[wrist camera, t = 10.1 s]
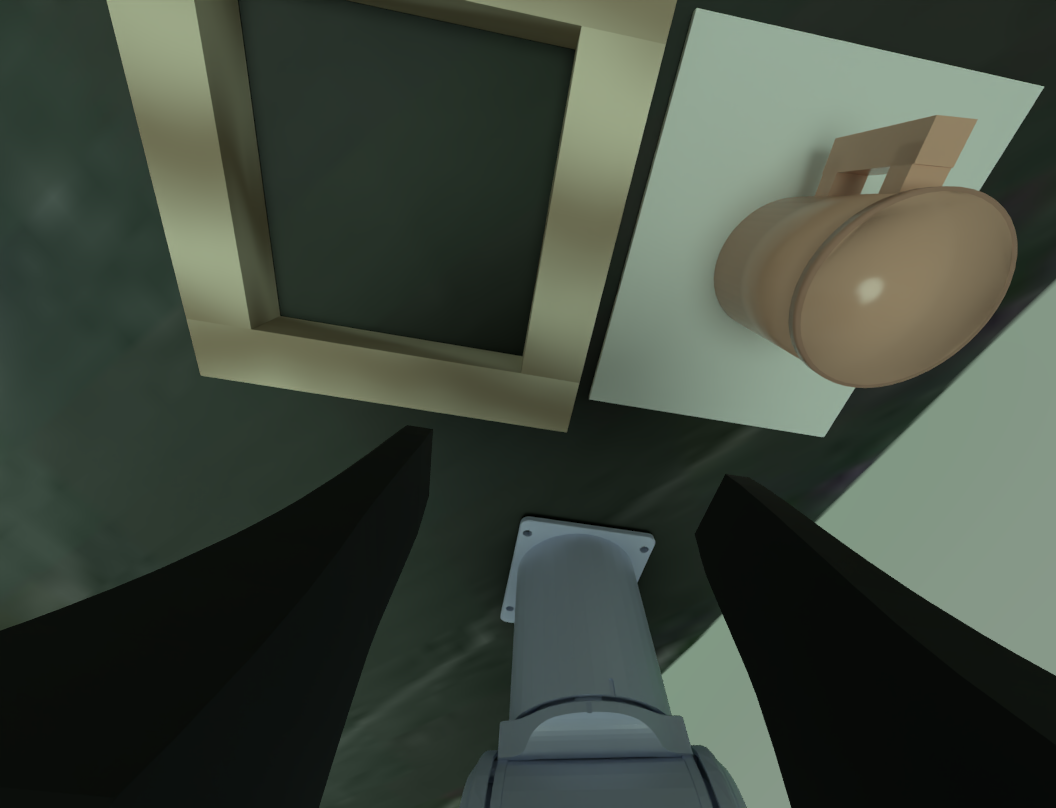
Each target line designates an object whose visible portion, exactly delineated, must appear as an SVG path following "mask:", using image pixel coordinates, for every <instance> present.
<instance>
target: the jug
mask: <svg viewBox="0 0 1056 808" xmlns="http://www.w3.org/2000/svg"><path fill="white" fill-rule="evenodd" d="M977 120H978V119H971V118H961V117H952V116H943V115H934V116H930V117H926V118H921V119H917V120H913V121H908V122H904V123H900V124H895V125H891V126H887V127H882V128H878V129H874V130H870V131H865V132H861V133H857V134H852V135H848V136H844V137H839V138H835V141H834V143H833V146H832V149H831V151H830V154H829V157H828V159H827V162H826V165H825V167H824V170H823V173H822V174H823V175H822V178H821V180H820V183H819V186H818V188H817V191H816V194H815V196H802V197H789V198H783V199H779V200H776V201H773V202H770V203H768V204H766V205H764V206H762V207H760V208H758V209H757V210H755V211H754V212H752V213H751V214H750V215H748V216H747V217H746V218H745V219H744V220H742V221H741V222H740V223H739V225H738V226H737V227H736V228H735V229H734V230H733V231H732V233H731V234H730V235H729V237H728V238H727V240H726V241H725V243H724V245H723V247H722V249H721V251H720V253H719V256H718V259H717V262H716V266H715V272H714V288H715V294H716V297H717V300H718V302H719V304H720V306H721V308H722V309H723V310H724V312H725V313H726V314H727V315H728V316H729V317H730V318H732V319H733V320H735V321H736V322H738V323H739V324H741V325H743V326H745V327H746V328H748V329H750V330H751V331H753V332H755V333H756V334H758V335H760V336H761V337H763V338H765V339H767V340H768V341H770V342H772V343H773V344H775V345H777V346H778V347H780V348H782V349H783V350H785V351H787V352H788V353H790V354H792V355H794V356H795V357H797V358H799V359H800V360H801V361H802V362H803V363H804V364H805V365H806V366H807V367H808V368H810V369H811V370H812V371H814V372H815V373H817V374H818V375H820V376H822V377H823V378H825V379H827V380H829V381H831V382H833V383H837V384H840V385H843V386H849V387H855V388H872V387H881V386H887V385H892V384H895V383H899V382H902V381H905V380H908V379H911V378H913V377H916V376H918V375H920V374H922V373H924V372H926V371H928V370H931V369H932V368H934V367H936V366H937V365H939V364H941V363H942V362H944V361H945V360H947V359H948V358H950V357H951V356H952V355H954V354H955V353H956V352H958V351H959V350H960V349H961V348H962V347H964V346H965V345H966V344H967V343H968V342H969V341H970V340H971V339H972V338H973V337H974V336H975V335H976V334H977V333H978V332H979V331H980V330H981V329H982V328H983V327H984V325H985V324H986V323H987V322H988V321H989V319H990V318H991V317H992V315H993V314H994V312H995V311H996V310H997V308H998V306H999V305H1000V303H1001V301H1002V299H1003V298H1004V296H1005V294H1006V292H1007V289H1008V287H1009V285H1010V283H1011V280H1012V276H1013V273H1014V270H1015V265H1016V259H1017V237H1016V231H1015V228H1014V225H1013V223H1012V220H1011V218H1010V216H1009V215H1008V213H1007V212H1006V210H1005V209H1004V208H1003V207H1002V206H1001V205H1000V204H999V203H998V202H997V201H996V200H995V199H993V198H992V197H990V196H988V195H987V194H985V193H982V192H980V191H977V190H975V189H970V188H965V187H957V186H942V185H943V183H944V182H945V180H946V178H947V176H948V174H949V172H950V170H951V168H953V167H954V165H955V163H956V161H957V159H958V157H959V155H960V153H961V151H962V150H963V148H964V146H965V144H966V142H967V140H968V138H969V136H970V134H971V132H972V130H973V128H974V126H975V124H976V122H977ZM882 174H887V175H886V177H885V179H884V182H883V184H882V186H881V188H880V191H879V193H878V194H861V191H862V189H863V187H864V184H865V182H866V180H867V177H868V176H871V175H882Z"/></svg>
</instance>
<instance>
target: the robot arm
mask: <svg viewBox="0 0 1056 808" xmlns="http://www.w3.org/2000/svg"><path fill="white" fill-rule="evenodd" d="M432 435H433V429H428V428H421V427H415V426H408V425H407V426H405V427H404V428H402V429H401V430H400V431H398V432H397V433H395V434H394V435H393V436H391V437H390V438H389V439H387V440H386V441H385V442H383V443H382V444H381V445H379V446H378V447H377V448H375V449H374V450H373V451H371V452H370V453H369V454H367V455H366V456H364V457H363V458H362V459H360V460H359V461H357V462H356V463H354V464H353V465H352V466H350V467H349V468H347V469H346V470H344V471H343V472H342V473H340V474H339V475H337V476H336V477H334V478H333V479H331V480H330V481H328V482H326V483H325V484H323V485H322V486H320V487H318V488H317V489H315V490H314V491H312V492H311V493H309V494H307V495H306V496H304V497H303V498H301V499H299V500H298V501H296V502H294V503H293V504H291V505H289V506H287V507H286V508H284V509H282V510H280V511H278V512H277V513H275V514H273V515H271V516H269V517H267V518H265V519H263V520H262V521H260V522H258V523H256V524H254V525H252V526H250V527H248V528H246V529H244V530H242V531H240V532H238V533H236V534H234V535H232V536H230V537H228V538H226V539H224V540H222V541H219V542H217V543H215V544H213V545H211V546H209V547H206V548H204V549H202V550H200V551H198V552H196V553H193V554H191V555H189V556H187V557H185V558H183V559H180V560H178V561H176V562H174V563H172V564H170V565H167V566H165V567H163V568H161V569H158V570H156V571H154V572H151V573H149V574H146V575H144V576H142V577H139V578H137V579H134V580H132V581H129V582H127V583H125V584H122V585H120V586H117V587H115V588H113V589H110V590H107V591H105V592H102V593H100V594H97V595H95V596H92V597H90V598H87V599H84V600H82V601H79V602H77V603H74V604H72V605H69V606H66V607H64V608H61V609H59V610H56V611H53V612H51V613H48V614H45V615H43V616H40V617H37V618H35V619H32V620H29V621H26V622H24V623H21V624H18V625H15V626H12V627H9V628H7V629H4V630H1V631H0V808H319V805H320V802H321V799H322V795H323V792H324V789H325V786H326V782H327V779H328V776H329V772H330V769H331V766H332V763H333V760H334V756H335V753H336V750H337V747H338V744H339V741H340V738H341V734H342V731H343V728H344V725H345V722H346V719H347V715H348V712H349V709H350V706H351V703H352V700H353V697H354V694H355V691H356V688H357V685H358V682H359V679H360V676H361V673H362V669H363V666H364V663H365V660H366V657H367V654H368V651H369V648H370V646H371V643H372V641H373V638H374V635H375V633H376V630H377V628H378V625H379V623H380V620H381V618H382V616H383V613H384V611H385V609H386V606H387V604H388V602H389V599H390V597H391V595H392V593H393V590H394V588H395V586H396V583H397V581H398V579H399V576H400V574H401V572H402V569H403V567H404V565H405V562H406V560H407V558H408V555H409V553H410V550H411V548H412V546H413V543H414V541H415V539H416V536H417V534H418V530H419V527H420V524H421V521H422V517H423V514H424V510H425V507H426V503H427V500H428V497H429V483H430V467H431V451H432ZM525 530H529V532H526V531H525ZM695 536H696V540H697V544H698V548H699V552H700V556H701V559H702V563H703V566H704V570H705V573H706V575H707V578H708V580H709V583H710V585H711V588H712V590H713V593H714V595H715V597H716V600H717V602H718V605H719V607H720V609H721V612H722V614H723V616H724V619H725V621H726V623H727V625H728V628H729V630H730V632H731V635H732V637H733V639H734V641H735V644H736V646H737V648H738V651H739V653H740V656H741V658H742V660H743V663H744V665H745V667H746V670H747V672H748V674H749V677H750V680H751V682H752V685H753V688H754V690H755V693H756V695H757V698H758V701H759V705H760V708H761V710H762V714H763V717H764V720H765V723H766V726H767V729H768V732H769V735H770V738H771V741H772V744H773V747H774V751H775V754H776V757H777V761H778V764H779V767H780V771H781V774H782V778H783V781H784V784H785V788H786V791H787V794H788V798H789V801H790V805H791V808H1056V676H1055V675H1053V674H1051V673H1050V672H1048V671H1046V670H1044V669H1042V668H1040V667H1039V666H1037V665H1035V664H1033V663H1032V662H1030V661H1028V660H1026V659H1024V658H1022V657H1021V656H1019V655H1017V654H1015V653H1013V652H1012V651H1010V650H1008V649H1007V648H1005V647H1003V646H1001V645H1000V644H998V643H996V642H995V641H993V640H991V639H989V638H987V637H986V636H984V635H982V634H981V633H979V632H978V631H976V630H974V629H973V628H971V627H969V626H968V625H966V624H964V623H963V622H961V621H960V620H958V619H956V618H955V617H953V616H951V615H950V614H948V613H947V612H945V611H943V610H942V609H940V608H938V607H937V606H935V605H934V604H932V603H930V602H929V601H927V600H925V599H924V598H922V597H921V596H919V595H917V594H916V593H915V592H913V591H911V590H910V589H909V588H907V587H905V586H904V585H903V584H901V583H900V582H898V581H897V580H895V579H894V578H892V577H891V576H889V575H888V574H886V573H885V572H883V571H882V570H880V569H879V568H877V567H876V566H874V565H873V564H871V563H870V562H868V561H867V560H866V559H864V558H863V557H861V556H860V555H859V554H857V553H856V552H854V551H853V550H852V549H850V548H849V547H847V546H846V545H844V544H843V543H842V542H840V541H839V540H838V539H836V538H835V537H833V536H832V535H831V534H829V533H828V532H827V531H825V530H824V529H822V528H821V527H820V526H818V525H817V524H816V523H814V522H813V521H812V520H810V519H809V518H807V517H806V516H805V515H803V514H802V513H801V512H799V511H798V510H796V509H795V508H794V507H792V506H791V505H790V504H788V503H787V502H785V501H784V500H783V499H781V498H780V497H778V496H777V495H775V494H774V493H773V492H771V491H770V490H768V489H767V488H765V487H764V486H762V485H761V484H759V483H757V482H756V481H754V480H752V479H751V478H748V477H741V476H735V475H728V474H725V476H724V478H723V480H722V482H721V484H720V486H719V488H718V490H717V492H716V494H715V496H714V498H713V499H712V501H711V503H710V505H709V507H708V509H707V511H706V513H705V515H704V517H703V519H702V521H701V523H700V525H699V527H698V529H697V531H696V533H695ZM654 545H655V540H654V537H653V535H651V534H649V533H643V532H636V531H629V530H622V529H615V528H608V527H601V526H594V525H587V524H580V523H573V522H566V521H559V520H552V519H545V518H538V517H531V516H527V517H524V518H523V519H521V521H520V526H519V531H518V535H517V540H516V544H515V549H514V554H513V558H512V563H511V568H510V572H509V577H508V582H507V586H506V591H505V595H504V600H503V605H502V609H501V619H502V620H503V621H505V622H510V623H514V639H513V658H512V676H511V694H510V713H509V721H502V722H501V723H500V731H499V745H498V750H488V751H486V752H484V753H483V754H482V756H481V757H480V759H479V761H478V763H477V765H476V766H475V767H474V769H473V770H472V771H471V773H470V775H469V776H468V779H467V781H466V784H465V787H464V791H463V794H462V798H461V803H460V808H747V807H746V805H745V802H744V800H743V798H742V796H741V793H740V791H739V789H738V788H737V785H736V783H735V782H734V780H733V778H732V777H731V775H730V774H729V772H728V771H727V770H726V768H725V767H724V766H722V764H721V763H719V761H717V759H716V758H715V757H714V755H713V754H712V753H711V752H710V751H709V750H708V749H707V748H706V747H704V746H701V745H693V746H692V745H690V742H689V738H688V734H687V731H686V727H685V724H684V720H683V717H681V716H672V715H671V711H670V707H669V703H668V699H667V695H666V692H665V688H664V684H663V680H662V676H661V672H660V668H659V665H658V661H657V657H656V653H655V649H654V645H653V641H652V638H651V634H650V630H649V626H648V622H647V618H646V615H645V611H644V607H643V603H642V599H641V595H640V591H639V588H638V584H637V583H638V580H639V578H640V576H641V574H642V572H643V569H644V567H645V565H646V563H647V561H648V558H649V556H650V554H651V552H652V550H653V547H654ZM641 547H643V548H641Z"/></svg>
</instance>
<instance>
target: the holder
mask: <svg viewBox="0 0 1056 808" xmlns="http://www.w3.org/2000/svg"><path fill="white" fill-rule="evenodd" d="M348 1H352V2H357V3H362V4H366V5H371V6H375V7H380V8H385V9H389V10H394V11H399V12H403V13H408V14H413V15H417V16H422V17H426V18H431V19H436V20H440V21H445V22H450V23H454V24H459V25H464V26H468V27H473V28H477V29H482V30H487V31H491V32H496V33H501V34H505V35H510V36H515V37H519V38H524V39H528V40H533V41H538V42H542V43H547V44H552V45H556V46H561V47H566V48H570V49H575V56H574V62H573V67H572V73H571V79H570V85H569V91H568V96H567V102H566V108H565V114H564V120H563V125H562V131H561V137H560V143H559V149H558V154H557V160H556V166H555V172H554V177H553V183H552V189H551V195H550V201H549V206H548V212H547V218H546V224H545V230H544V235H543V241H542V247H541V253H540V259H539V264H538V270H537V276H536V282H535V288H534V293H533V299H532V305H531V311H530V317H529V322H528V328H527V334H526V340H525V346H524V351H523V356H518V355H512V354H506V353H500V352H494V351H488V350H482V349H476V348H470V347H464V346H458V345H452V344H446V343H440V342H434V341H428V340H422V339H416V338H410V337H404V336H397V335H391V334H385V333H379V332H373V331H367V330H361V329H355V328H349V327H343V326H337V325H331V324H325V323H319V322H313V321H307V320H301V319H295V318H289V317H283V316H280V310H279V303H278V296H277V288H276V281H275V273H274V266H273V258H272V251H271V244H270V236H269V229H268V221H267V214H266V206H265V199H264V192H263V184H262V177H261V169H260V162H259V154H258V147H257V139H256V132H255V125H254V117H253V110H252V102H251V95H250V87H249V80H248V73H247V65H246V58H245V50H244V43H243V35H242V28H241V21H240V13H239V6H238V0H107V4H108V8H109V12H110V16H111V20H112V24H113V28H114V31H115V35H116V39H117V43H118V47H119V51H120V55H121V59H122V63H123V67H124V71H125V75H126V79H127V83H128V87H129V91H130V95H131V99H132V103H133V107H134V111H135V115H136V119H137V123H138V127H139V131H140V135H141V139H142V143H143V147H144V151H145V155H146V159H147V163H148V167H149V171H150V175H151V179H152V183H153V187H154V191H155V195H156V199H157V203H158V207H159V211H160V215H161V219H162V223H163V227H164V231H165V235H166V239H167V243H168V247H169V251H170V255H171V259H172V263H173V267H174V271H175V275H176V279H177V283H178V287H179V291H180V295H181V299H182V303H183V307H184V311H185V315H186V319H187V323H188V327H189V331H190V335H191V339H192V343H193V347H194V351H195V355H196V359H197V362H198V366H199V370H200V374H201V376H208V377H214V378H220V379H227V380H233V381H240V382H246V383H252V384H259V385H265V386H272V387H278V388H285V389H291V390H297V391H304V392H310V393H317V394H323V395H330V396H336V397H342V398H349V399H355V400H362V401H368V402H374V403H381V404H387V405H394V406H400V407H407V408H413V409H419V410H426V411H432V412H439V413H445V414H451V415H458V416H464V417H471V418H477V419H484V420H490V421H496V422H503V423H509V424H516V425H522V426H529V427H535V428H541V429H548V430H554V431H561V432H567V430H568V426H569V422H570V418H571V414H572V410H573V406H574V402H575V398H576V394H577V390H578V387H579V383H580V379H581V375H582V371H583V367H584V363H585V359H586V355H587V351H588V347H589V343H590V339H591V336H592V332H593V328H594V324H595V320H596V316H597V312H598V308H599V304H600V300H601V296H602V292H603V288H604V285H605V281H606V277H607V273H608V269H609V265H610V261H611V257H612V253H613V249H614V245H615V241H616V237H617V234H618V230H619V226H620V222H621V218H622V214H623V210H624V206H625V202H626V198H627V194H628V190H629V186H630V183H631V179H632V175H633V171H634V167H635V163H636V159H637V155H638V151H639V147H640V143H641V139H642V135H643V132H644V128H645V124H646V120H647V116H648V112H649V108H650V104H651V100H652V96H653V92H654V88H655V84H656V81H657V77H658V73H659V69H660V65H661V61H662V57H663V53H664V49H665V45H666V41H667V37H668V33H669V30H670V26H671V22H672V18H673V14H674V10H675V6H676V2H677V0H348Z"/></svg>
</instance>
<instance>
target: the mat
mask: <svg viewBox="0 0 1056 808" xmlns="http://www.w3.org/2000/svg"><path fill="white" fill-rule="evenodd" d="M1043 88H1044V87H1043V86H1039V85H1035V84H1030V83H1026V82H1021V81H1017V80H1013V79H1008V78H1004V77H999V76H995V75H991V74H986V73H982V72H977V71H973V70H968V69H964V68H960V67H955V66H951V65H946V64H942V63H938V62H933V61H929V60H924V59H920V58H915V57H911V56H907V55H902V54H898V53H893V52H889V51H885V50H880V49H876V48H871V47H867V46H862V45H858V44H854V43H849V42H845V41H840V40H836V39H832V38H827V37H823V36H818V35H814V34H809V33H805V32H801V31H796V30H792V29H787V28H783V27H779V26H774V25H770V24H765V23H761V22H756V21H752V20H748V19H743V18H739V17H734V16H730V15H726V14H721V13H717V12H712V11H708V10H703V9H699V8H696V9H695V10H694V12H693V14H692V18H691V22H690V25H689V29H688V33H687V36H686V40H685V44H684V47H683V51H682V55H681V59H680V62H679V66H678V70H677V73H676V77H675V81H674V84H673V88H672V92H671V95H670V99H669V103H668V106H667V110H666V114H665V117H664V121H663V125H662V128H661V132H660V136H659V139H658V143H657V147H656V150H655V154H654V158H653V161H652V165H651V169H650V172H649V176H648V180H647V183H646V187H645V191H644V194H643V198H642V202H641V206H640V209H639V213H638V217H637V220H636V224H635V228H634V231H633V235H632V239H631V242H630V246H629V250H628V253H627V257H626V261H625V264H624V268H623V272H622V275H621V279H620V283H619V286H618V290H617V294H616V297H615V301H614V305H613V308H612V312H611V316H610V319H609V323H608V327H607V330H606V334H605V338H604V342H603V345H602V349H601V353H600V356H599V360H598V364H597V367H596V371H595V375H594V378H593V382H592V386H591V389H590V393H589V399H590V400H596V401H602V402H608V403H614V404H621V405H627V406H633V407H639V408H645V409H652V410H658V411H664V412H670V413H676V414H683V415H689V416H695V417H701V418H707V419H714V420H720V421H726V422H732V423H738V424H744V425H751V426H757V427H763V428H769V429H775V430H782V431H788V432H794V433H800V434H806V435H813V436H819V437H824V436H825V435H826V433H827V432H828V430H829V428H830V427H831V425H832V424H833V422H834V420H835V419H836V417H837V416H838V414H839V413H840V411H841V409H842V408H843V406H844V405H845V403H846V401H847V400H848V398H849V397H850V395H851V393H852V392H853V390H854V389H855V387H849V386H843V385H840V384H837V383H833V382H831V381H829V380H827V379H825V378H823V377H822V376H820V375H818V374H817V373H815V372H814V371H812V370H811V369H810V368H808V367H807V366H806V365H805V364H804V363H803V362H802V361H801V360H800V359H799V358H797V357H795V356H794V355H792V354H790V353H788V352H787V351H785V350H783V349H782V348H780V347H778V346H777V345H775V344H773V343H772V342H770V341H768V340H767V339H765V338H763V337H761V336H760V335H758V334H756V333H755V332H753V331H751V330H750V329H748V328H746V327H745V326H743V325H741V324H739V323H738V322H736V321H735V320H733V319H732V318H730V317H729V316H728V315H727V314H726V313H725V312H724V310H723V309H722V308H721V306H720V304H719V302H718V300H717V297H716V294H715V288H714V272H715V266H716V262H717V259H718V256H719V253H720V251H721V249H722V247H723V245H724V243H725V241H726V240H727V238H728V237H729V235H730V234H731V233H732V231H733V230H734V229H735V228H736V227H737V226H738V225H739V223H740V222H741V221H742V220H744V219H745V218H746V217H747V216H748V215H750V214H751V213H752V212H754V211H755V210H757V209H758V208H760V207H762V206H764V205H766V204H768V203H770V202H773V201H776V200H779V199H783V198H789V197H802V196H815V194H816V191H817V188H818V186H819V183H820V180H821V178H822V175H823V174H822V173H823V170H824V167H825V165H826V162H827V159H828V157H829V154H830V151H831V149H832V146H833V143H834V141H835V138H839V137H844V136H848V135H852V134H857V133H861V132H865V131H870V130H874V129H878V128H882V127H887V126H891V125H895V124H900V123H904V122H908V121H913V120H917V119H921V118H926V117H930V116H934V115H943V116H952V117H961V118H971V119H978V120H977V122H976V124H975V126H974V128H973V130H972V132H971V134H970V136H969V138H968V140H967V142H966V144H965V146H964V148H963V150H962V151H961V153H960V155H959V157H958V159H957V161H956V163H955V165H954V167H953V168H951V170H950V172H949V174H948V176H947V178H946V180H945V182H944V183H943V185H942V186H957V187H965V188H970V189H975V190H977V191H979V190H980V188H981V187H982V185H983V184H984V182H985V180H986V179H987V177H988V176H989V174H990V172H991V171H992V169H993V168H994V166H995V164H996V163H997V161H998V160H999V158H1000V157H1001V155H1002V153H1003V152H1004V150H1005V149H1006V147H1007V145H1008V144H1009V142H1010V141H1011V139H1012V137H1013V136H1014V134H1015V133H1016V131H1017V129H1018V128H1019V126H1020V125H1021V123H1022V122H1023V120H1024V118H1025V117H1026V115H1027V114H1028V112H1029V110H1030V109H1031V107H1032V106H1033V104H1034V102H1035V101H1036V99H1037V98H1038V96H1039V94H1040V93H1041V91H1042V90H1043ZM886 175H887V174H882V175H871V176H868V177H867V180H866V182H865V184H864V187H863V189H862V191H861V194H878V193H879V191H880V188H881V186H882V184H883V182H884V179H885V177H886Z"/></svg>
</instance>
